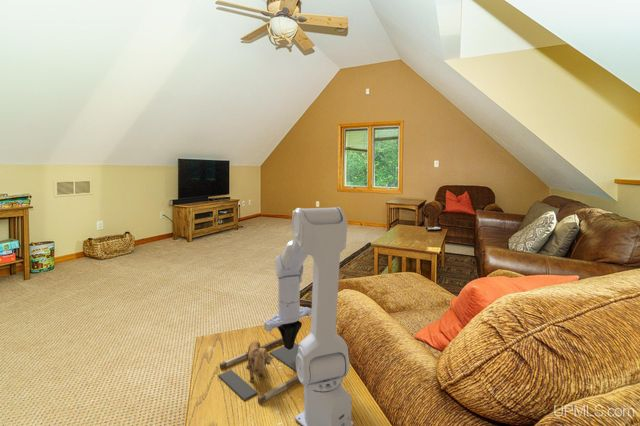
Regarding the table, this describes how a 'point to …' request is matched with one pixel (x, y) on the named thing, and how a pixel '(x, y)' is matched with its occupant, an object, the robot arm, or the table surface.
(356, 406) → the table surface
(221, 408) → the table surface
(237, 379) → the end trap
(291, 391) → the table surface
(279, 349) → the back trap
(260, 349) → the lion figurine
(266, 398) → the wooden sticks
